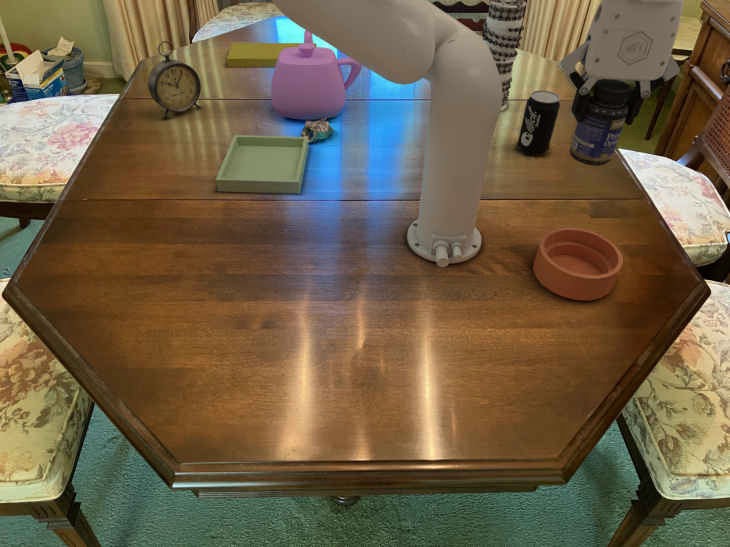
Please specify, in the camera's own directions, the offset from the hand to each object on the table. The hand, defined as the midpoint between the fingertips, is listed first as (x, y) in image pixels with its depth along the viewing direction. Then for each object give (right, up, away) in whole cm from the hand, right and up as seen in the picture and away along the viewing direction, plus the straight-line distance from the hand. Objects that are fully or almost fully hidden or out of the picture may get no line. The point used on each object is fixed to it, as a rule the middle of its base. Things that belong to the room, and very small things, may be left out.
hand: (602, 118), depth 79 cm
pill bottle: (0, -5, +4) cm, 6 cm away
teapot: (-47, +17, +54) cm, 74 cm away
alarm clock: (-77, +16, +51) cm, 94 cm away
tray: (-54, -1, +33) cm, 63 cm away
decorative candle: (-3, +19, +57) cm, 60 cm away
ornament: (-45, +8, +43) cm, 63 cm away
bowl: (-1, -22, +10) cm, 25 cm away
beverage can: (+2, +5, +41) cm, 41 cm away
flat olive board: (-60, +38, +77) cm, 104 cm away
